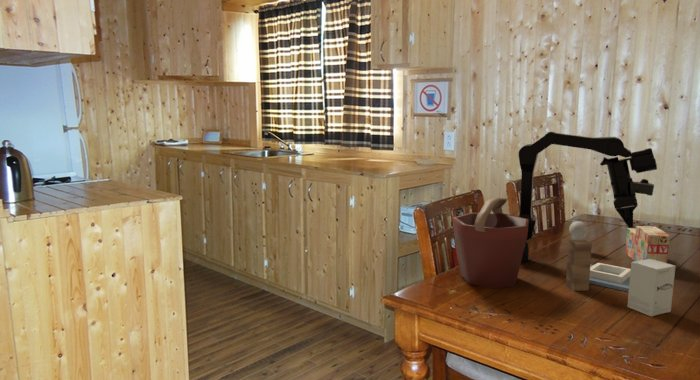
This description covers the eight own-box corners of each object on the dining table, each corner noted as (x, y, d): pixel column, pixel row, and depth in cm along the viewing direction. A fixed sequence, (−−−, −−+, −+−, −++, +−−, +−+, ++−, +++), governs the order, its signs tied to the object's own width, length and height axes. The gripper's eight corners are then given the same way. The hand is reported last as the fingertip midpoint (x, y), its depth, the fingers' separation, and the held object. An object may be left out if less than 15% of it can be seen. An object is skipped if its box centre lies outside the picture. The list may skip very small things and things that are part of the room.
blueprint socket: (572, 279, 159) (572, 270, 158) (590, 267, 170) (591, 258, 170) (629, 292, 148) (630, 281, 148) (644, 278, 159) (645, 268, 159)
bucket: (481, 262, 176) (484, 190, 172) (544, 277, 161) (548, 198, 157) (438, 280, 159) (440, 200, 155) (503, 298, 144) (507, 210, 140)
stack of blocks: (624, 252, 187) (627, 219, 185) (643, 253, 186) (646, 220, 184) (645, 271, 166) (648, 234, 164) (666, 272, 165) (670, 235, 163)
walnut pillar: (565, 285, 154) (568, 239, 151) (580, 284, 154) (583, 239, 152) (573, 290, 149) (576, 243, 147) (588, 290, 150) (591, 243, 147)
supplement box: (652, 317, 131) (656, 269, 128) (626, 307, 137) (630, 261, 135) (672, 312, 133) (676, 265, 131) (645, 302, 140) (649, 257, 138)
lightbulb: (568, 252, 188) (569, 222, 186) (567, 247, 194) (569, 219, 192) (586, 253, 186) (588, 223, 184) (585, 249, 191) (587, 220, 189)
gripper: (650, 174, 150) (662, 226, 151) (647, 168, 167) (657, 215, 167) (608, 181, 156) (620, 232, 156) (609, 175, 172) (619, 221, 172)
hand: (630, 224), depth 163 cm, fingers open, 9 cm apart
